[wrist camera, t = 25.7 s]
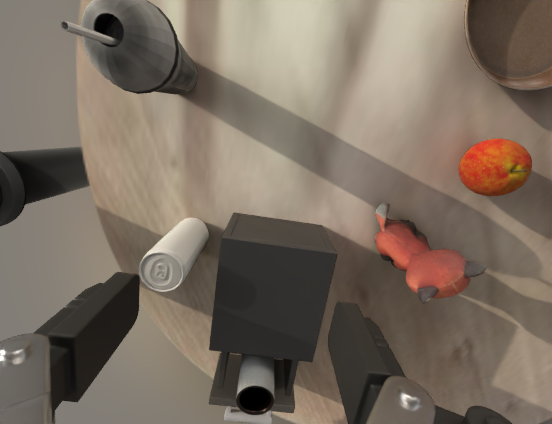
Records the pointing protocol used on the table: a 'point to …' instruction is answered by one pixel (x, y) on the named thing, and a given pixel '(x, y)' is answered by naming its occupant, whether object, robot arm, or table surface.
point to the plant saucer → (511, 41)
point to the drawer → (228, 384)
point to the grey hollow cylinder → (255, 384)
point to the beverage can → (174, 256)
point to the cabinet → (271, 287)
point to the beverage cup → (135, 47)
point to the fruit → (495, 167)
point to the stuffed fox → (423, 259)
